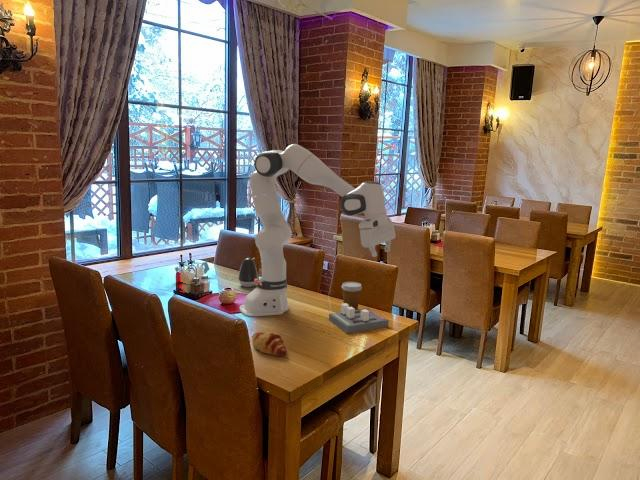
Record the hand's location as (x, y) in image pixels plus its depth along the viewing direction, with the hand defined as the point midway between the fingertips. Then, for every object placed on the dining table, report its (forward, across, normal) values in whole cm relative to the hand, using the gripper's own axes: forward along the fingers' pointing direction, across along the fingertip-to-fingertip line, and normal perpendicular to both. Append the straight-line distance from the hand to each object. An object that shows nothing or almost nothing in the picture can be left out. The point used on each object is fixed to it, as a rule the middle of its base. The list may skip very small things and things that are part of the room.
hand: (381, 254), depth 195 cm
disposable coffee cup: (+28, -8, -27) cm, 39 cm away
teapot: (+10, +15, -116) cm, 118 cm away
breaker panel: (+29, +4, -14) cm, 33 cm away
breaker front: (+27, +6, -9) cm, 29 cm away
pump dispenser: (+16, +1, -87) cm, 88 cm away
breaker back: (+25, +6, -19) cm, 32 cm away
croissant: (+25, +48, -22) cm, 59 cm away
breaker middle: (+25, +8, -15) cm, 30 cm away
